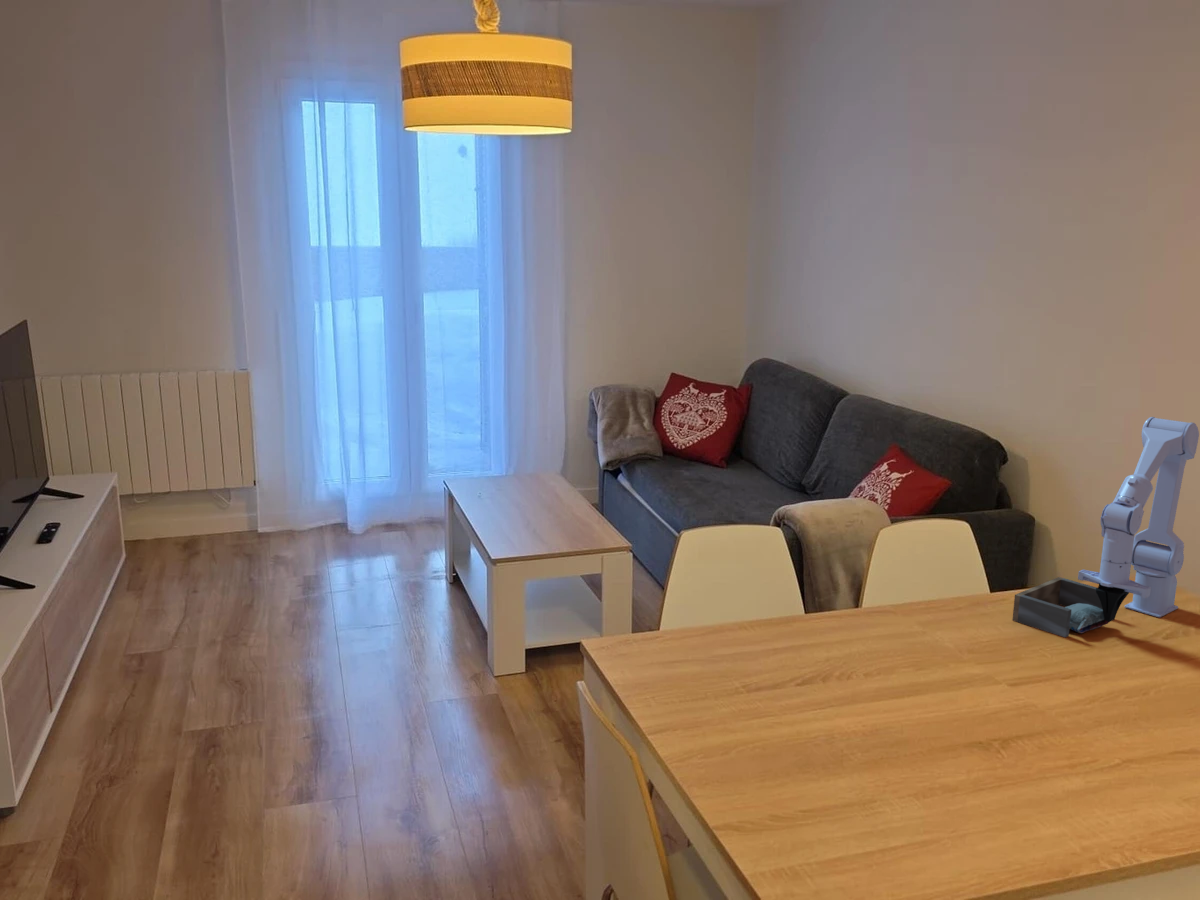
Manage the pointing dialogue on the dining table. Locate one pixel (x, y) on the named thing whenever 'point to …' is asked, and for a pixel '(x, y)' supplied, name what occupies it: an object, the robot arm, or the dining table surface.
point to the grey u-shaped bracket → (1052, 604)
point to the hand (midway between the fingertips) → (1109, 619)
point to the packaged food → (1086, 617)
